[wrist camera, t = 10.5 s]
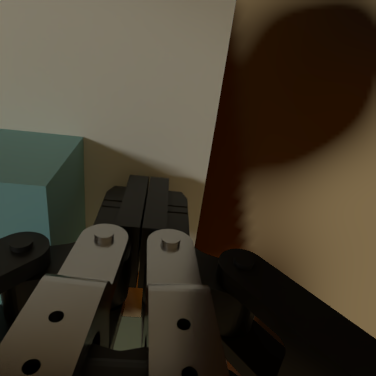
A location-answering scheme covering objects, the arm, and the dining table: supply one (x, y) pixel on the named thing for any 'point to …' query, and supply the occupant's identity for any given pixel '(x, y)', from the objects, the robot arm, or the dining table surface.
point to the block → (42, 185)
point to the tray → (119, 90)
